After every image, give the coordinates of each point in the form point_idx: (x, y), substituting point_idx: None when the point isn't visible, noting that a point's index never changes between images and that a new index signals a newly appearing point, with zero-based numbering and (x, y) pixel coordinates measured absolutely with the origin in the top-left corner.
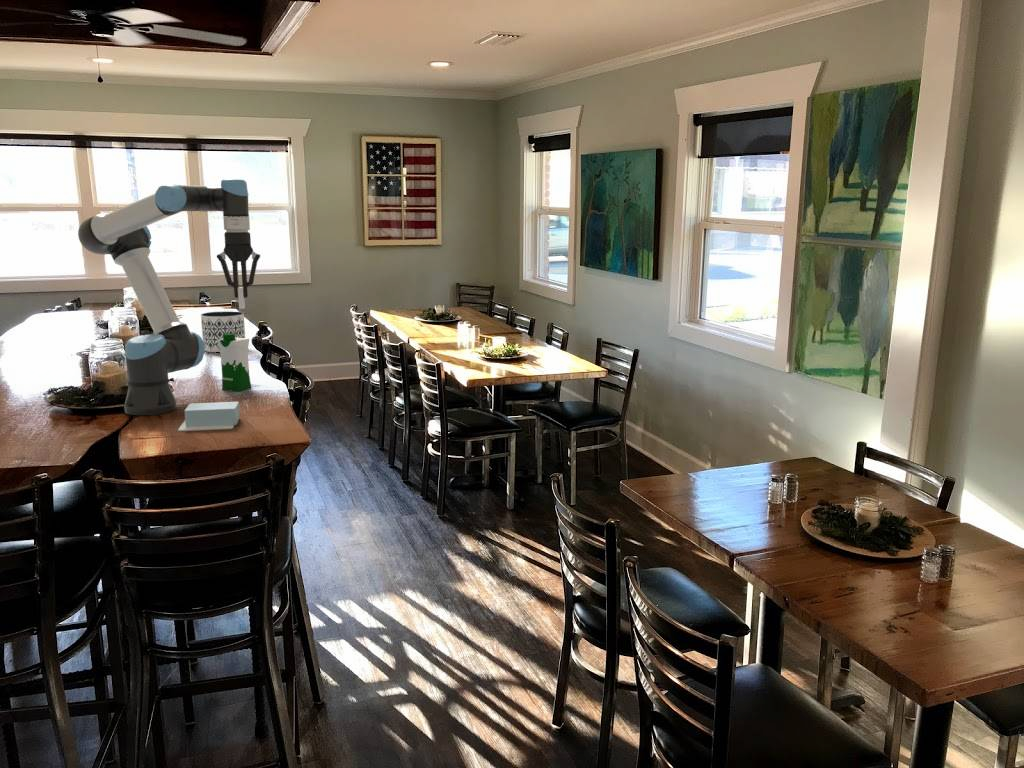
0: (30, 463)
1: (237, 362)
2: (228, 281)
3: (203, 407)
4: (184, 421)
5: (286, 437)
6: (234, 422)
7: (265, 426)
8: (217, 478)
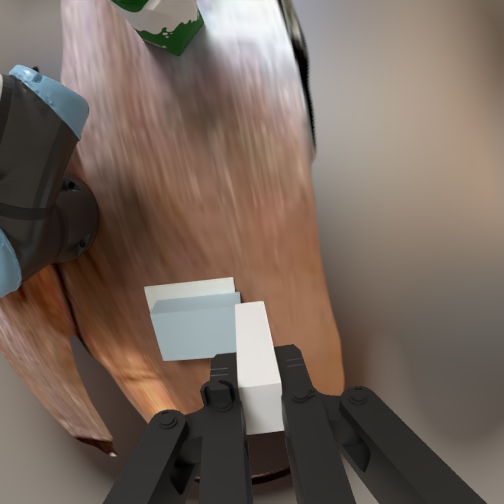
0: (80, 430)
1: (171, 27)
2: (177, 474)
3: (187, 343)
4: (150, 311)
5: (326, 384)
6: None
7: (292, 337)
8: (269, 474)
